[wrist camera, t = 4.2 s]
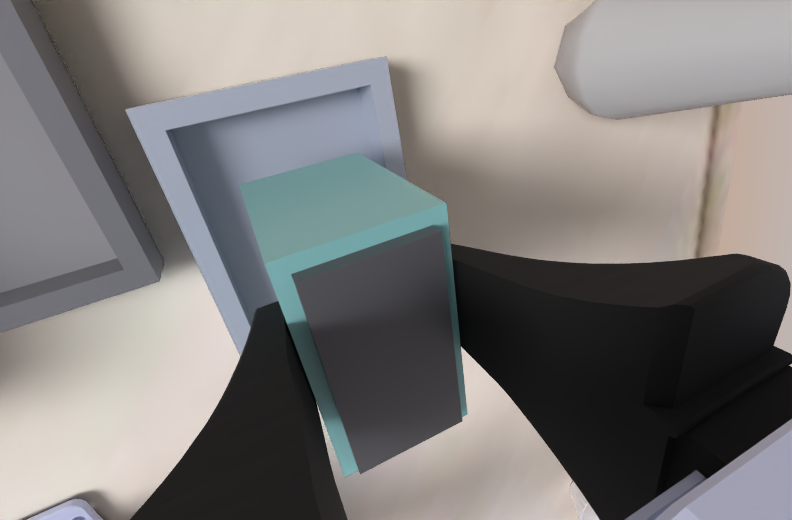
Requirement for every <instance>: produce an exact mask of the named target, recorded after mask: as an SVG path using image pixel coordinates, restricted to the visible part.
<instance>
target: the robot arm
mask: <svg viewBox="0 0 792 520" xmlns="http://www.w3.org/2000/svg"><path fill="white" fill-rule="evenodd" d="M451 253H452V263H453V273H454V284H455V294H456V304H457V314H458V324H459V334H460V344H461V347H462V348H463V349H464V350H465V351H466V352H467V353H468V354H469V355H470V356H471V357H472V358H473V359H474V360H475V361H476V362H477V363H478V364H479V365H480V366H481V367H482V368H483V369H484V370H485V371H486V372H487V373H488V374H489V375H490V376H491V377H492V378H493V379H494V380H495V381H496V382H497V383H498V384H499V385H500V386H501V387H502V388H503V390H504V391H505V392H506V393H507V394H508V395H509V396H510V398H511V399H512V400H513V401H514V403H515V404H516V405H517V406H518V408H519V409H520V410H521V411H522V413H523V414H524V415H525V416H526V418H527V419H528V420H529V421H530V423H531V424H532V425H533V427H534V428H535V429H536V431H537V432H538V433H539V435H540V436H541V437H542V439H543V440H544V441H545V443H546V444H547V445H548V447H549V448H550V449H551V451H552V452H553V453H554V455H555V456H556V457H557V459H558V460H559V462H560V463H561V464H562V466H563V467H564V469H565V470H566V471H567V473H568V474H569V476H570V477H571V478H572V480H573V481H574V483H575V484H576V485H577V487H578V488H579V490H580V491H581V493H582V494H583V496H584V497H585V498H586V500H587V501H588V503H589V504H590V506H591V507H592V509H593V510H594V512H595V513H596V515H597V516H598V518H599V519H600V520H792V367H791V366H789V365H790V364H792V355H791V354H790V353H788V352H786V351H784V350H782V349H779V348H777V347H775V346H773V345H774V342H775V339H776V336H777V334H778V330H779V328H780V325H781V322H782V319H783V316H784V314H785V311H786V308H787V304H788V300H789V297H790V281H789V277H788V275H787V272H786V271H785V270H784V269H783V268H782V267H780V266H779V265H776V264H773V263H770V262H766V261H763V260H760V259H757V258H754V257H751V256H747V255H742V254H729V255H721V256H713V257H704V258H696V259H688V260H679V261H667V262H652V263H631V264H588V263H569V262H556V261H545V260H537V259H530V258H523V257H517V256H511V255H505V254H500V253H494V252H489V251H484V250H480V249H475V248H470V247H465V246H460V245H454V244H451ZM79 516H81V517H79ZM26 520H103V519H102V518H101V517H100V516H99V515H98V514H97V513H96V511H95V510H94V509H93V508H92V507H91V506H90V505H89V504H88V503H87V502H86V501H85V500H82V499H73V500H70V501H67V502H65V503H63V504H60V505H58V506H56V507H54V508H51V509H49V510H47V511H45V512H42V513H40V514H38V515H35V516H33V517H31V518H29V519H26ZM130 520H347V517H346V514H345V511H344V508H343V505H342V502H341V498H340V495H339V492H338V489H337V486H336V483H335V480H334V476H333V472H332V469H331V465H330V461H329V456H328V452H327V447H326V443H325V438H324V434H323V430H322V425H321V421H320V416H319V412H318V408H317V403H316V399H315V397H314V394H313V391H312V389H311V386H310V383H309V381H308V378H307V375H306V373H305V370H304V367H303V365H302V362H301V360H300V357H299V354H298V352H297V349H296V346H295V344H294V341H293V338H292V336H291V333H290V330H289V328H288V325H287V322H286V320H285V317H284V314H283V312H282V309H281V307H280V304H279V301H276V302H274V303H271V304H268V305H265V306H263V307H260V308H257V309H256V311H255V313H254V316H253V321H252V325H251V328H250V332H249V335H248V338H247V341H246V344H245V346H244V349H243V352H242V354H241V357H240V360H239V362H238V364H237V367H236V369H235V371H234V373H233V375H232V377H231V380H230V382H229V384H228V386H227V388H226V390H225V392H224V394H223V396H222V398H221V400H220V401H219V403H218V405H217V407H216V408H215V410H214V412H213V414H212V415H211V417H210V419H209V420H208V422H207V423H206V425H205V426H204V428H203V429H202V430H201V432H200V433H199V435H198V436H197V438H196V439H195V440H194V442H193V443H192V445H191V446H190V447H189V449H188V450H187V452H186V453H185V454H184V456H183V457H182V459H181V460H180V461H179V462H178V464H177V465H176V466H175V467H174V469H173V470H172V471H171V472H170V474H169V475H168V476H167V477H166V479H165V480H164V481H163V482H162V484H161V485H160V486H159V487H158V488H157V489H156V491H155V492H154V493H153V494H152V495H151V496H150V498H149V499H148V500H147V501H146V502H145V503H144V505H143V506H142V507H141V508H140V509H139V510H138V511H137V512H136V513H135V515H134V516H133V517H132V518H131V519H130Z"/></svg>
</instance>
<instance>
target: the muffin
mask: <svg viewBox="0 0 792 520" xmlns="http://www.w3.org/2000/svg"><path fill="white" fill-rule="evenodd" d="M570 494H571V497H572V500H573V503H574V506H575V509H576V512H577V515H578V518H579V520H600V519H599V518H598V516H597V515H596V513H595V512H594V510H593V509H592V507H591V506H590V504H589V503H588V501H587V500H586V498H585V497H584V496H583V494H582V493H581V491H580V490H579V488H578V487H577V485H576V484H575V483H574V481H573V482H572V484H571V486H570Z"/></svg>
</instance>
